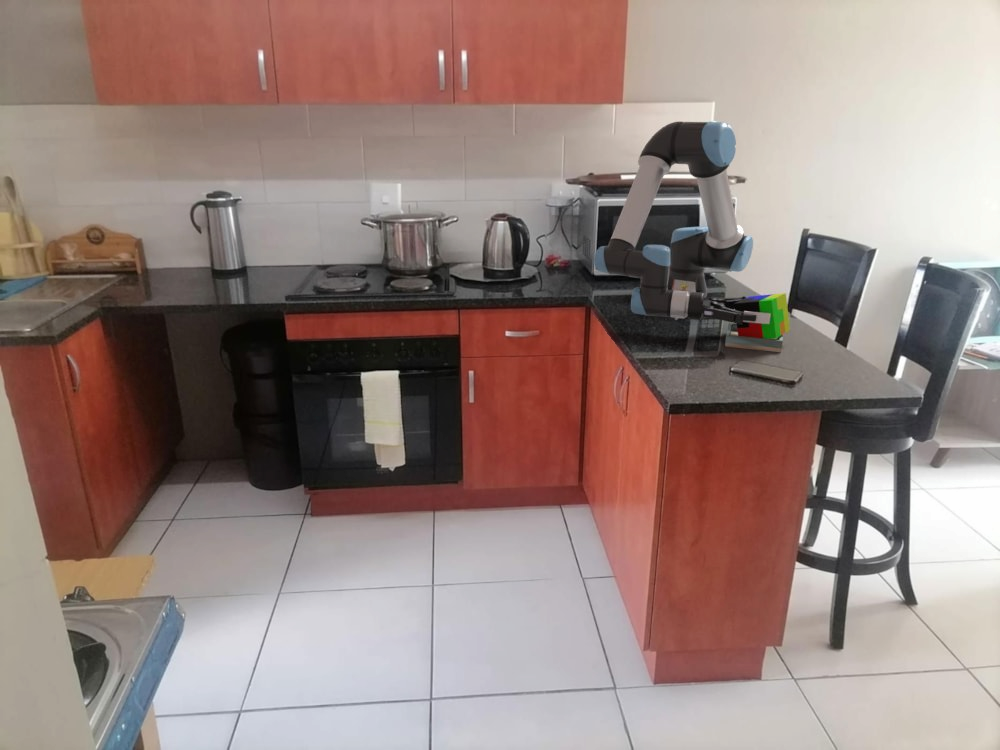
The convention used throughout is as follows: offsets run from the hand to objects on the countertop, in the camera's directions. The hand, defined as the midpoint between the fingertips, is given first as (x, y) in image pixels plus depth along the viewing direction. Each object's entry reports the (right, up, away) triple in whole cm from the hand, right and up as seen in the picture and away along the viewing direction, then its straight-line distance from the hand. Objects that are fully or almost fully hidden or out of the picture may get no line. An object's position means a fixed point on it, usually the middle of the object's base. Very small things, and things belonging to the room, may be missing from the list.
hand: (770, 312), depth 187 cm
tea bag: (-15, +3, +34) cm, 37 cm away
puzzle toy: (-1, -6, +2) cm, 6 cm away
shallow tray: (-3, -8, +4) cm, 9 cm away
